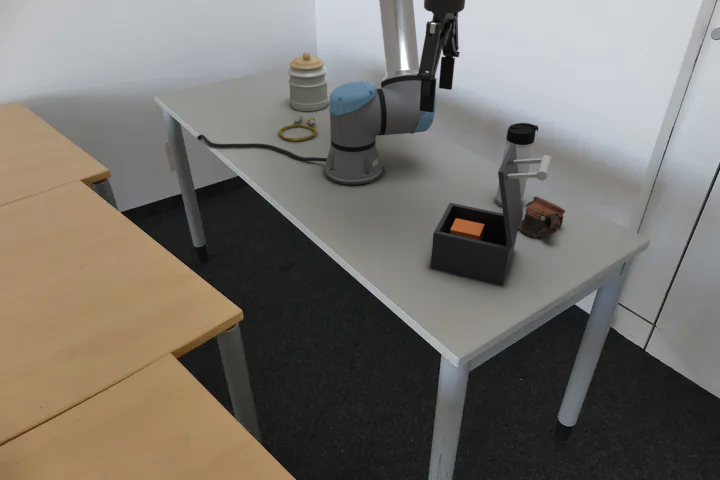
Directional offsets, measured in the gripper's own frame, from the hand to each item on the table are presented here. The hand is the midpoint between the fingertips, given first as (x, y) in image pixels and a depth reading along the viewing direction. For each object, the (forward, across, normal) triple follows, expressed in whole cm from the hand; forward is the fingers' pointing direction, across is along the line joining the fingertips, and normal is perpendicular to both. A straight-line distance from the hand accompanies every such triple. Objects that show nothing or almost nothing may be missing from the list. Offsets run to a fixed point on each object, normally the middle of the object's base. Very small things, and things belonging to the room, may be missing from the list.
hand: (436, 99), depth 111 cm
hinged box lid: (+12, -12, -19) cm, 25 cm away
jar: (+29, +53, +58) cm, 84 cm away
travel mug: (+29, +14, -17) cm, 36 cm away
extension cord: (+29, +32, +50) cm, 66 cm away
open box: (+29, -12, -14) cm, 34 cm away
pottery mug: (+29, +4, -26) cm, 39 cm away
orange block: (+28, -12, -12) cm, 33 cm away
